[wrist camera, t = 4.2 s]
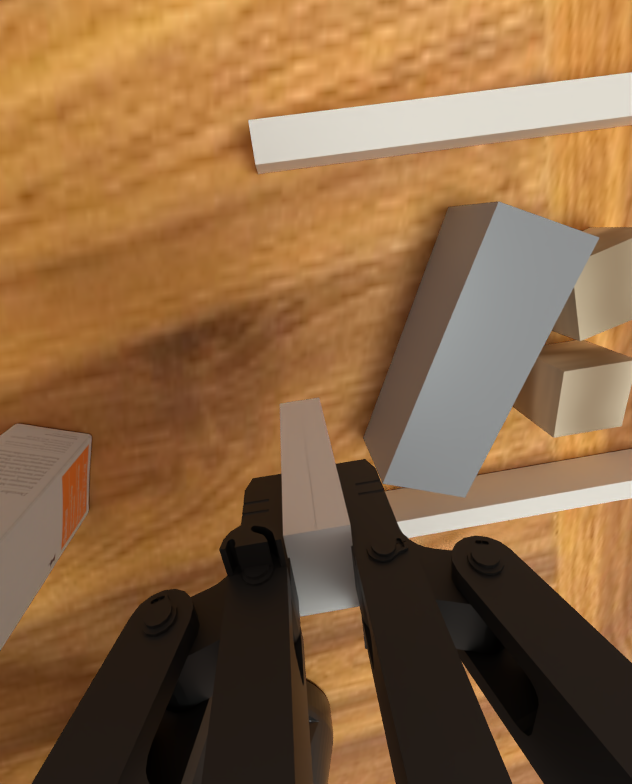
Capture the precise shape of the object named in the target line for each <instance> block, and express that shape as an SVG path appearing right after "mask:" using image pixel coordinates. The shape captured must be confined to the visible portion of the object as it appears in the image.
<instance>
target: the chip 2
mask: <svg viewBox="0 0 632 784" xmlns="http://www.w3.org/2000/svg"><path fill="white" fill-rule="evenodd" d="M631 384H632V358H631V357H628V356H626V355H623V354H620V353H617V352H615V351H612V350H609V349H607V348H604V347H601V346H598V345H596V344H593V343H590V342H588V341H585V340H582V341H578V340H574V341H568V342H561V343H555V344H549V345H544V346H543V348H542V350H541V352H540V354H539V356H538V358H537V360H536V362H535V363H534V365H533V367H532V369H531V371H530V373H529V375H528V377H527V379H526V381H525V383H524V385H523V387H522V389H521V391H520V393H519V394H518V396H517V398H516V400H515V402H514V405H513V407H514V408H515V409H516V410H518V411H519V412H520V413H522V414H523V415H524V416H526V417H527V418H528V419H530V420H531V421H532V422H534V423H535V424H536V425H538V426H539V427H540V428H542V429H543V430H544V431H546V432H547V433H548V434H550V435H551V436H552V437H560V436H566V435H572V434H578V433H584V432H590V431H596V430H602V429H608V428H614V427H620V426H622V422H623V418H624V414H625V409H626V405H627V401H628V397H629V393H630V388H631Z"/></svg>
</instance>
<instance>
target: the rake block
mask: <svg viewBox="0 0 632 784" xmlns="http://www.w3.org/2000/svg"><path fill="white" fill-rule="evenodd" d="M598 240H599V237H597V236H594V235H591V234H588V233H585V232H583V231H580V230H577V229H574V228H571V227H569V226H566V225H563V224H560V223H557V222H555V221H552V220H549V219H546V218H543V217H541V216H538V215H535V214H532V213H529V212H526V211H524V210H521V209H518V208H515V207H512V206H510V205H507V204H504V203H501V202H490V203H481V204H472V205H462V206H453V207H448V210H447V212H446V215H445V218H444V221H443V223H442V226H441V229H440V231H439V234H438V237H437V240H436V242H435V245H434V248H433V250H432V253H431V256H430V258H429V261H428V264H427V267H426V269H425V272H424V275H423V277H422V280H421V283H420V286H419V288H418V291H417V294H416V296H415V299H414V302H413V305H412V307H411V310H410V313H409V315H408V318H407V321H406V324H405V326H404V329H403V332H402V334H401V337H400V340H399V343H398V345H397V348H396V351H395V353H394V356H393V359H392V362H391V364H390V367H389V370H388V372H387V375H386V378H385V381H384V383H383V386H382V389H381V391H380V394H379V397H378V399H377V402H376V405H375V408H374V410H373V413H372V416H371V418H370V421H369V424H368V427H367V429H366V432H365V435H364V437H363V439H364V441H365V443H366V446H367V448H368V450H369V453H370V455H371V457H372V460H373V462H374V464H375V467H376V469H377V471H378V474H379V476H380V478H381V481H382V483H383V484H388V485H394V486H400V487H406V488H412V489H417V490H423V491H429V492H435V493H441V494H447V495H452V496H458V497H464V498H465V497H466V495H467V493H468V491H469V489H470V487H471V485H472V483H473V481H474V480H475V478H476V476H477V474H478V472H479V470H480V468H481V466H482V464H483V462H484V460H485V458H486V456H487V454H488V452H489V451H490V449H491V447H492V445H493V443H494V441H495V439H496V437H497V435H498V433H499V431H500V429H501V427H502V425H503V423H504V422H505V420H506V418H507V416H508V414H509V412H510V410H511V408H512V406H513V404H514V402H515V400H516V398H517V396H518V394H519V393H520V391H521V389H522V387H523V385H524V383H525V381H526V379H527V377H528V375H529V373H530V371H531V369H532V367H533V365H534V363H535V362H536V360H537V358H538V356H539V354H540V352H541V350H542V348H543V346H544V344H545V342H546V340H547V338H548V336H549V334H550V333H551V331H552V329H553V327H554V325H555V323H556V321H557V319H558V317H559V315H560V313H561V311H562V309H563V307H564V305H565V304H566V302H567V300H568V298H569V296H570V294H571V292H572V290H573V288H574V286H575V284H576V282H577V280H578V278H579V276H580V274H581V273H582V271H583V269H584V267H585V265H586V263H587V261H588V259H589V257H590V255H591V253H592V251H593V249H594V247H595V245H596V244H597V242H598Z"/></svg>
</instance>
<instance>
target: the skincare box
mask: <svg viewBox="0 0 632 784" xmlns="http://www.w3.org/2000/svg"><path fill="white" fill-rule="evenodd" d="M91 443H92V436H91V435H90V434H85V433H78V432H71V431H64V430H58V429H51V428H45V427H38V426H32V425H25V424H15V425H13V426H12V427H11V428H9V429H8V430H7V431H6V432H4V433H3V434H2V435H0V651H1V649H2V647H3V646H4V644H5V643H6V641H7V639H8V638H9V636H10V635H11V633H12V632H13V630H14V629H15V627H16V625H17V624H18V622H19V621H20V619H21V618H22V616H23V614H24V613H25V611H26V610H27V608H28V607H29V605H30V604H31V602H32V600H33V599H34V597H35V596H36V594H37V593H38V591H39V590H40V588H41V586H42V585H43V583H44V582H45V580H46V579H47V577H48V575H49V573H50V572H51V570H52V569H53V567H54V566H55V564H56V562H57V561H58V559H59V558H60V556H61V555H62V553H63V551H64V550H65V548H66V547H67V545H68V544H69V542H70V541H71V539H72V538H73V536H74V534H75V533H76V531H77V530H78V528H79V527H80V525H81V523H82V522H83V520H84V519H85V517H86V516H87V514H88V512H89V504H88V502H89V472H90V459H91Z"/></svg>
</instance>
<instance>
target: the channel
mask: <svg viewBox="0 0 632 784" xmlns="http://www.w3.org/2000/svg"><path fill="white" fill-rule="evenodd" d="M248 122H249V128H250V134H251V140H252V146H253V152H254V158H255V165H256V168H257V172H258V174H262V173H270V172H277V171H285V170H292V169H300V168H308V167H315V166H323V165H331V164H338V163H346V162H353V161H361V160H369V159H376V158H384V157H391V156H399V155H407V154H414V153H422V152H430V151H437V150H445V149H452V148H460V147H468V146H475V145H483V144H490V143H498V142H506V141H513V140H521V139H529V138H536V137H544V136H551V135H559V134H567V133H574V132H582V131H589V130H597V129H605V128H612V127H620V126H628V125H632V72H631V73H623V74H615V75H607V76H599V77H591V78H583V79H575V80H567V81H559V82H550V83H542V84H534V85H526V86H518V87H510V88H502V89H494V90H486V91H478V92H470V93H462V94H454V95H446V96H438V97H430V98H422V99H414V100H406V101H398V102H390V103H382V104H374V105H366V106H358V107H350V108H342V109H334V110H326V111H318V112H310V113H302V114H294V115H286V116H278V117H270V118H262V119H254V120H248ZM385 493H386V496H387V498H388V501H389V503H390V506H391V508H392V511H393V513H394V516H395V518H396V521H397V523H398V526H399V528H400V530H401V531H402V533H403V534H404V535H405V536H407V537H408V538H411V537H417V536H422V535H428V534H433V533H439V532H444V531H450V530H456V529H461V528H467V527H472V526H478V525H484V524H489V523H495V522H500V521H506V520H512V519H517V518H523V517H528V516H534V515H540V514H545V513H551V512H556V511H562V510H568V509H573V508H579V507H584V506H590V505H595V504H601V503H607V502H612V501H618V500H623V499H629V498H632V449H627V450H621V451H615V452H609V453H604V454H598V455H592V456H586V457H580V458H575V459H569V460H563V461H557V462H551V463H546V464H540V465H534V466H528V467H522V468H517V469H511V470H505V471H499V472H494V473H488V474H482V475H477V476H476V478H475V480H474V481H473V483H472V485H471V487H470V489H469V491H468V493H467V495H466V497H465V498H464V497H458V496H452V495H447V494H441V493H435V492H429V491H423V490H417V489H412V488H401V489H395V490H389V491H385Z"/></svg>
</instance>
